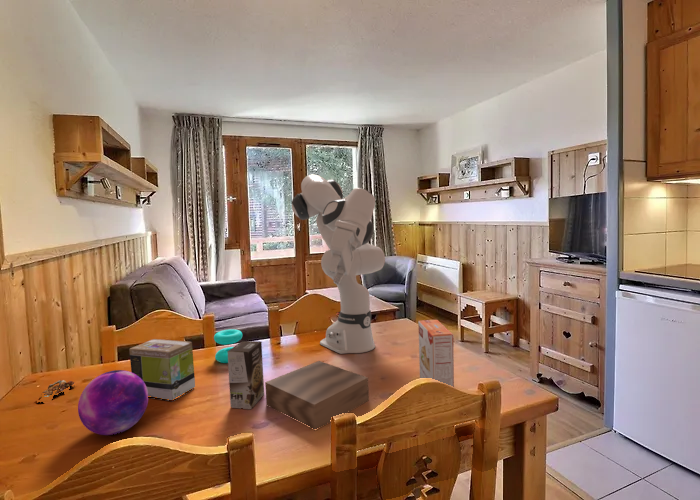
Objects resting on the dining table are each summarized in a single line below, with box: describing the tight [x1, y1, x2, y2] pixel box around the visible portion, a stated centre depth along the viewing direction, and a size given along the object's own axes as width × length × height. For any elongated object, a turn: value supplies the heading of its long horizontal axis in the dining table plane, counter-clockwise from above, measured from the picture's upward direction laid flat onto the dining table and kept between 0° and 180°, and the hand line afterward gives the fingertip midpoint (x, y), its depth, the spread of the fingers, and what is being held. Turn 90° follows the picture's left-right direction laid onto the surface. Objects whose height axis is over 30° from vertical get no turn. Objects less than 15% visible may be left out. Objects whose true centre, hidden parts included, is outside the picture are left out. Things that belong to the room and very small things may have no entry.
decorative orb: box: [77, 369, 149, 436], centre depth 100 cm, size 15×15×15 cm
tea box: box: [128, 338, 196, 401], centre depth 121 cm, size 15×10×15 cm, turn 71°
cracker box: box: [417, 319, 455, 388], centre depth 110 cm, size 14×6×21 cm, turn 5°
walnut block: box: [264, 360, 370, 430], centre depth 112 cm, size 20×20×7 cm
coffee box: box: [227, 340, 265, 410], centre depth 113 cm, size 9×6×16 cm
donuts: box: [213, 328, 243, 364], centre depth 147 cm, size 10×10×10 cm
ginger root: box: [42, 379, 75, 397], centre depth 122 cm, size 7×12×4 cm, turn 6°
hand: (334, 277), depth 116 cm, fingers open, 8 cm apart
